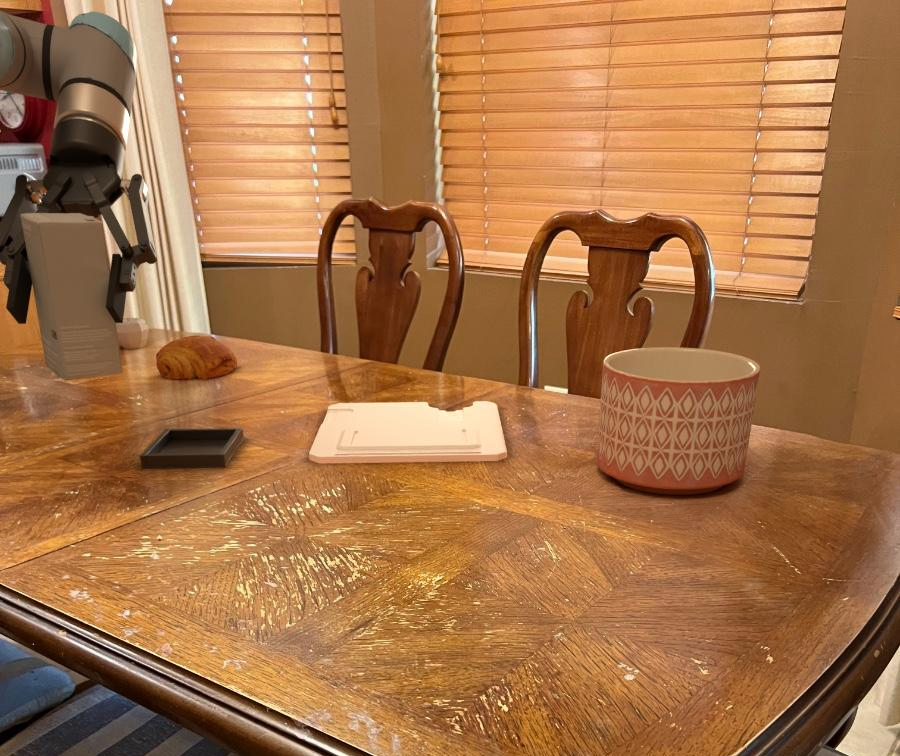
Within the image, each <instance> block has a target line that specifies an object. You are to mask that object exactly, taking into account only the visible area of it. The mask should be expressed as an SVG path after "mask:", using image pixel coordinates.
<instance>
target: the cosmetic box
mask: <svg viewBox="0 0 900 756" xmlns="http://www.w3.org/2000/svg"><path fill="white" fill-rule="evenodd" d="M20 216H21V221H22V227H23V232H24V238H25V244H26V250H27V256H28V262H29V267H30V273H31V279H32V291H33V297H34V301H35V302H34V303H35V308H36V314H37V320H38V325H39V331H40V338H41V343H42V350H43V357H44V362H45V366H46V368H48V369H49V370H51V371H52V373H54V374H55V375H57V376H58V377H59V378H60V379H62V380H64V381H65V382H68V381H76V380H84V379H91V378H101V377H109V376H117V375H122V374H124V371H123V364H122V359H121V350H120V344H119V343H118V335H117V328H116V323H115V321H114V320H113V318H112V316H111V315H110V313H109V312H108V310H107V308H106V301H107V293H108V285H109V277H110V268H109V262H108V260H109V259H108V254H107V245H106V237H105V230H104V224H103V222H102V221H101V220H98V219H97V218H94V217H93V216H86V215H84V214H81V213H25V214H20Z"/></svg>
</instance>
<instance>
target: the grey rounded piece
mask: <svg viewBox="0 0 900 756" xmlns="http://www.w3.org/2000/svg"><path fill="white" fill-rule="evenodd" d="M116 328H117V335H118V343H119V346H121V347H122V348H123V349H125V350H138V349H142V348H144V346H146V344H147V341H148V339H149V332H150V327H149V325H148V324H147V322H146V320H144V319H142V318H139V317H123V323H116Z"/></svg>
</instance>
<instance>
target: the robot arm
mask: <svg viewBox="0 0 900 756" xmlns="http://www.w3.org/2000/svg"><path fill="white" fill-rule="evenodd" d="M70 22H71V23H70V25H68V28H67V27H63V26H60V25H53V24H49V23H48V24H47V23H46V24H45V23H42V22H38V21H34V20H31V19H27V18H23V17H20V16H16V15H12V14H9V13H6V11H3V10H1V9H0V91H2V92H6V93H12V94H16V95H21V96H26V97H32V98H37V99H41V100H47V101H49V102H52V103H53V102H54V103H56V104H57V105H56V110H55V116H54V122H53V131H52V134H51V135H52V136H51V141H50V148H49V154H48V155H49V156H48V170H47V172H46V173H45V174H44V176H43V178H42V179H31V180H29V178H28V177H27V175H25V174H19V175H17V176H16V177H15V187H14V193H13V195H12V198H11V199H10V201H9V203H8V206H7V207H6V210H5V212H4V214H3V215H2V218H1V219H0V263H1V265H3V266H5V267H4V273H3V279H2V280H3V284H4V285H5V287H6V288H7V289H8V294H7V300H6V305H5V309H6V310H7V311H8V313H9V314H10V315H11V316H12V317H13V319H14V320H15V321H16V323H17V324H18V325H26V324H27V319H28V313H29V306H30V300H31V295H32V290H33V285H32V279H31V273H30V267H29V262H28V256H27V250H26V244H25V238H24V232H23V227H22V221H21V216H20V214H25V213H81V214H84V215H86V216H93V217H94V219H99V216H102V218H103V220H104V222H105V224H106V226H107V228H108V230H109V232H110V234H111V235H112V238H113V240H114V241H115V243H116V245H117V247H118V249H119V251H120V253H112V254H111V263H110V269H109V275H110V277H109V285H108V293H107V301H106V308H107V310H108V312H109V313H110V315H111V316H112V318H113V320H114V321H115V323H123V318H125V317H124V316H125V308H126V307H125V306H126V301H127V293H133V292H135V289H136V285H137V276H138V269H139V267H141V265H142V264H146V263H147V264H149V265H154V264H156V263H157V261H158V256H157V250H156V246H155V241H154V235H153V230H152V225H151V220H150V215H149V210H148V205H149V200H150V196H151V193H150V191H149V188H148V187H147V184H146V182H145V180H144V177H143V175H142V174H140V173H135V174H133V175H132V176H131V177H130V179H127V178H124V169H125V162H126V152H127V151H126V150H127V145H128V137H129V129H130V122H131V112H132V106H133V101H134V100H133V99H134V92H135V87H136V85H137V84H136V83H137V77H136V76H137V75H136V73H137V59H138V57H137V56H138V51H137V47H136V43H135V41H134V38H133V37H132V35H131V33H130V32H129V30H127V28H126V27H125V26H124V25H123V24H122V23H121V22H120V21H118V20H117V19H116V18H114V17H113V16H110V15H109V14H105V13H103V12H98V11H89V12H86V13H79V14H78V15H76V16H75V17H74V18H73V19H72V20H71V21H70ZM124 194H125V196H126V198H127V200H128V201H129V205H130V210H131V215H132V220H133V226H134V230H135V236H136V240H137V244H135V245H131V243H130V241H129V240H128V239H129V238H128V237H127V236H126V234H125V232H124V230H123V228H122V226H121V224H120V222H119V221H118V219H117V216H116V214H115V213H114V211H113V209H112V206H113V205H114V204H115V203H116V202H117V201H118V200H119V199H121V197H122V196H123V195H124ZM38 205H40V206H39V207H38ZM37 207H38V209H37Z"/></svg>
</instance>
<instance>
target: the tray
mask: <svg viewBox="0 0 900 756" xmlns="http://www.w3.org/2000/svg"><path fill="white" fill-rule="evenodd" d="M507 458H508V450H507V445H506V441H505V435H504V430H503V427H502V421H501V417H500V413H499V408H498V404H496V403H495V402H492V401H488V400H477V401H472V405H470V406H466V407H464V406H463V407H462V409H456V410H455V411H447V410H445V409H443V410H442V409H439V407H434V406H430V405H429V402H427V401H404V402H403V401H401V402H400V401H399V402H398V401H397V402H339V403H334V404H331V405H328V407H327V412H326V415H325V416H324V419H323V422H322V423H321V424H320V426H319V429H318V430H317V433H316V436H315V438H314V441H313V443H312V445H311V447H310V450H309V452H308V460H309V461H311V462H314V463H317V464H368V463H369V464H370V463H374V464H375V463H380V464H381V463H441V462H442V463H443V462H445V463H446V462H451V463H452V462H454V463H455V462H498V461H501V460H504V459H507Z"/></svg>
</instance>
